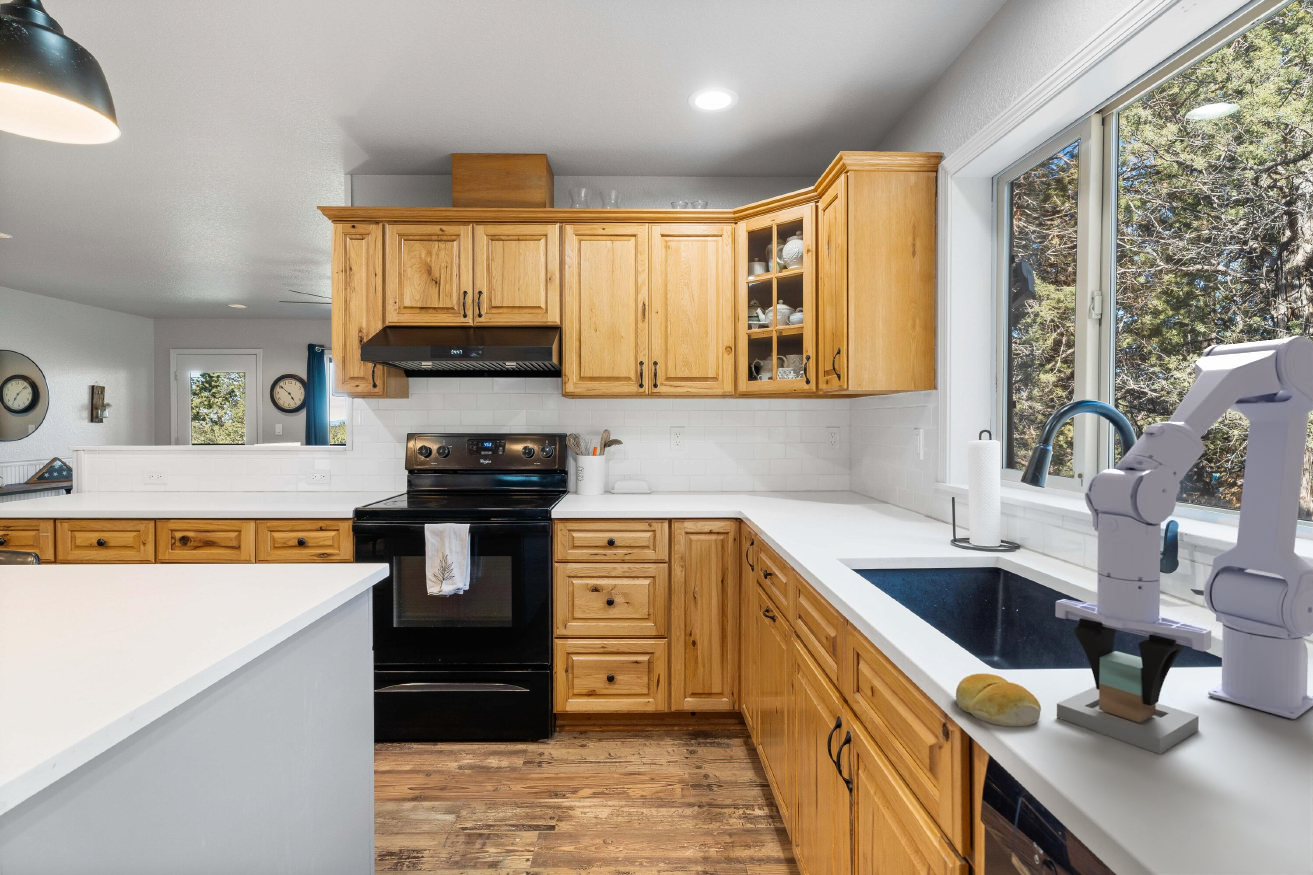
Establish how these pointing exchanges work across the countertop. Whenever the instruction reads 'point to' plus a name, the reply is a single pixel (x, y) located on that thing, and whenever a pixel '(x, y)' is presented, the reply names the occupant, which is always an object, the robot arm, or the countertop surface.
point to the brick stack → (1123, 687)
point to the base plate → (1130, 722)
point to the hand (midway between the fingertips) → (1126, 695)
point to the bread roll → (997, 700)
